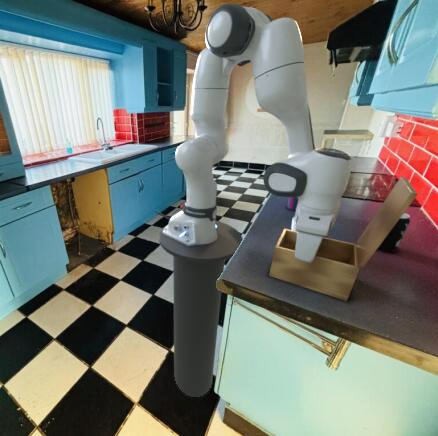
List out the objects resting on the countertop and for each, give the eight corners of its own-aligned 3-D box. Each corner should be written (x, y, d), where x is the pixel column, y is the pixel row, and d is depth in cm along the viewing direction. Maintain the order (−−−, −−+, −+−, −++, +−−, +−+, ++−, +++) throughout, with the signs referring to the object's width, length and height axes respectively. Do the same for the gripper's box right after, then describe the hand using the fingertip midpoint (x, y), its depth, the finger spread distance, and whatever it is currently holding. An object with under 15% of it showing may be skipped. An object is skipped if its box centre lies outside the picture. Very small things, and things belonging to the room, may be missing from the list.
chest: (269, 275, 68) (275, 246, 64) (278, 255, 77) (284, 228, 73) (346, 301, 58) (359, 268, 54) (346, 274, 67) (358, 244, 63)
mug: (303, 206, 111) (306, 192, 108) (304, 214, 103) (307, 199, 100) (287, 204, 114) (290, 191, 111) (286, 212, 106) (289, 198, 103)
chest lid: (411, 192, 44) (418, 194, 44) (401, 176, 53) (406, 177, 53) (358, 266, 54) (363, 267, 53) (356, 242, 63) (360, 243, 62)
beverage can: (389, 254, 74) (405, 220, 69) (365, 245, 79) (377, 212, 74) (400, 249, 76) (416, 215, 71) (376, 240, 82) (389, 208, 77)
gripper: (306, 199, 70) (296, 240, 76) (295, 226, 55) (284, 273, 61) (332, 203, 66) (320, 245, 72) (328, 233, 52) (313, 282, 58)
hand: (303, 258), depth 67 cm, fingers closed on supplement bottle, 5 cm apart
